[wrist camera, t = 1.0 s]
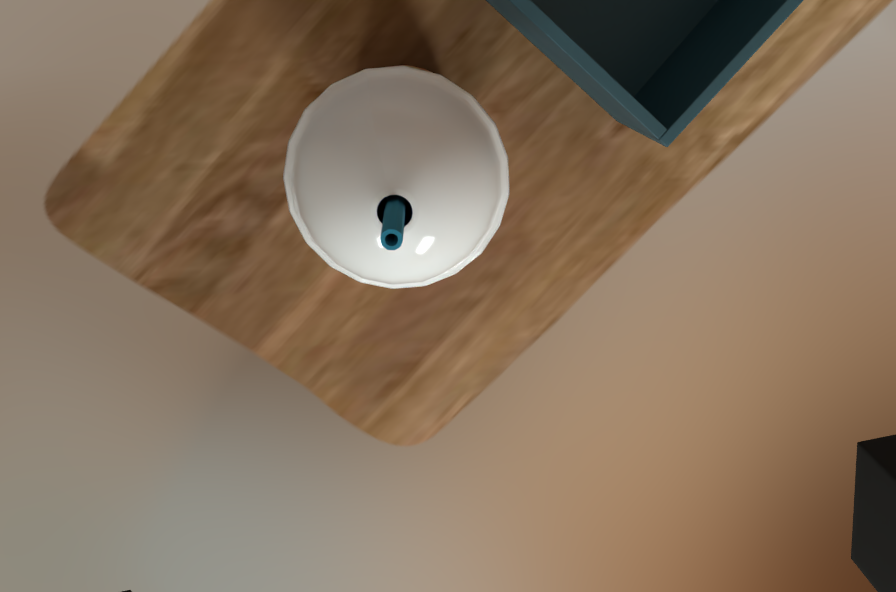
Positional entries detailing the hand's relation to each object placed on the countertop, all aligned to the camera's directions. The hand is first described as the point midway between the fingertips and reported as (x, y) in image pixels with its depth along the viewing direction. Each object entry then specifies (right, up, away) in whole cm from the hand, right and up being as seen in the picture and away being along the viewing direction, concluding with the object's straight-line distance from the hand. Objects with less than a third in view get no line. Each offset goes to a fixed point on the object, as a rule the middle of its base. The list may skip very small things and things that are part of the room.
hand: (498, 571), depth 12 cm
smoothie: (-3, +15, +25) cm, 29 cm away
